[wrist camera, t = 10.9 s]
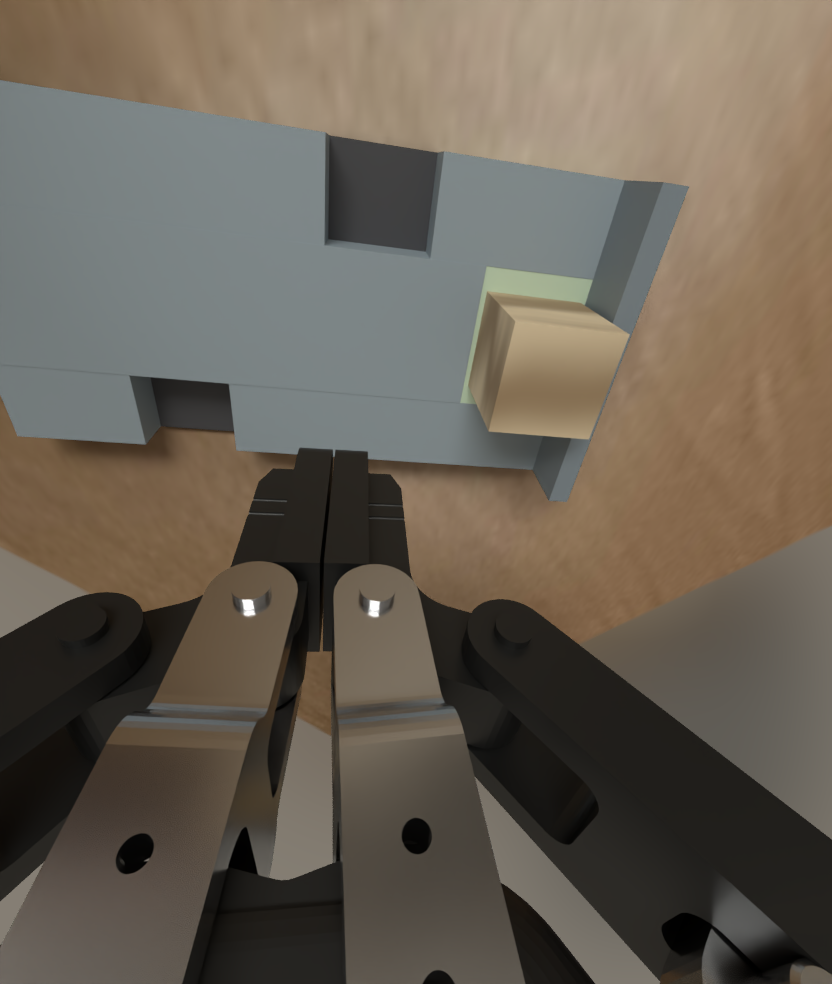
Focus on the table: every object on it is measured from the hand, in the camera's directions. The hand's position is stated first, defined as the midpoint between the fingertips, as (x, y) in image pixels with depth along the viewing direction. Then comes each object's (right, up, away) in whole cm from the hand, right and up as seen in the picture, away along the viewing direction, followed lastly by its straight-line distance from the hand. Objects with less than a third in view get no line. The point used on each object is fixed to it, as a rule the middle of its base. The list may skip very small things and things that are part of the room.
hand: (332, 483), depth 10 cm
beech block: (+7, +7, +12) cm, 15 cm away
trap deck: (-4, +9, +12) cm, 16 cm away
